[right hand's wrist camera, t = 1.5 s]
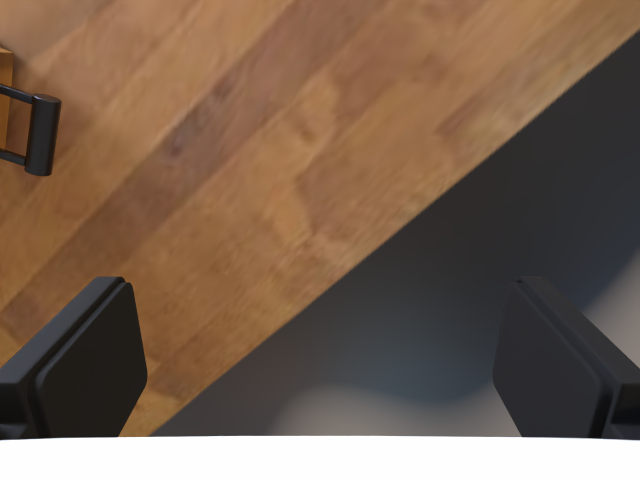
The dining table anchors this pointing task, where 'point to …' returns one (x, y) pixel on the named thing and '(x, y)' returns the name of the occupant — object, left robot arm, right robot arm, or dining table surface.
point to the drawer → (40, 122)
